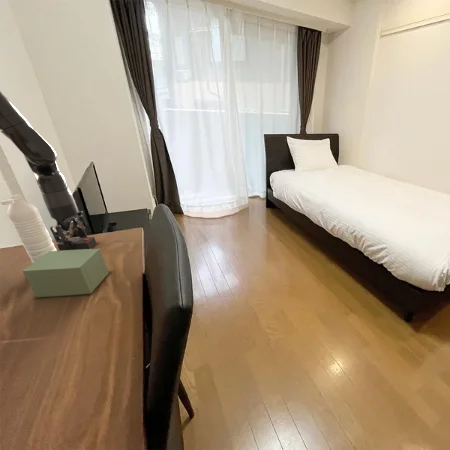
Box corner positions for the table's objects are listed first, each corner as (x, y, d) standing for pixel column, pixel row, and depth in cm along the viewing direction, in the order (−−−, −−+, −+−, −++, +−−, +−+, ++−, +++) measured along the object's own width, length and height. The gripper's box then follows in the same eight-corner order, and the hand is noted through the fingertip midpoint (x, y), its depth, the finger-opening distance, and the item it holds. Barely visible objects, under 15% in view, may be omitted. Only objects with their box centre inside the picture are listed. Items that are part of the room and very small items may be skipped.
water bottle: (42, 264, 90) (6, 192, 79) (65, 260, 92) (34, 190, 81) (29, 279, 82) (-12, 203, 71) (56, 275, 85) (19, 200, 74)
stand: (36, 297, 75) (22, 271, 71) (60, 275, 84) (49, 251, 80) (90, 293, 77) (79, 267, 73) (108, 272, 86) (99, 248, 82)
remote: (59, 251, 97) (56, 243, 96) (67, 244, 101) (64, 237, 100) (89, 249, 98) (86, 242, 97) (96, 243, 102) (93, 236, 101)
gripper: (62, 195, 98) (78, 235, 105) (32, 211, 85) (53, 255, 92) (84, 194, 99) (99, 234, 106) (58, 210, 86) (76, 254, 93)
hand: (77, 244), depth 99 cm, fingers open, 7 cm apart
